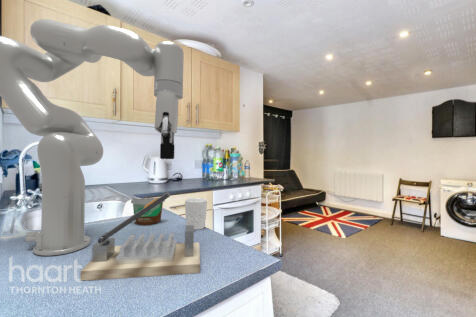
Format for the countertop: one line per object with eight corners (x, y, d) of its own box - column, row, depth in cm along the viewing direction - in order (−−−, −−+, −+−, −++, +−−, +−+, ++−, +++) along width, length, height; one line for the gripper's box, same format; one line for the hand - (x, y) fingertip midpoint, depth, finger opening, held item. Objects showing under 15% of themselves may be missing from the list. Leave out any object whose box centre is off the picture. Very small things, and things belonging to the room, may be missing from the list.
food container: (127, 227, 82) (128, 199, 82) (130, 222, 88) (131, 196, 88) (164, 225, 85) (164, 198, 85) (164, 220, 91) (165, 195, 91)
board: (80, 280, 47) (80, 271, 47) (105, 254, 60) (105, 246, 60) (199, 272, 51) (199, 263, 51) (199, 249, 64) (199, 242, 64)
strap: (99, 244, 52) (95, 239, 51) (106, 238, 56) (102, 233, 55) (169, 197, 54) (165, 192, 54) (171, 194, 58) (167, 189, 58)
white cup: (207, 224, 88) (208, 198, 88) (205, 230, 80) (205, 202, 80) (186, 223, 88) (187, 197, 88) (182, 230, 80) (183, 201, 80)
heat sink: (87, 266, 49) (88, 238, 49) (104, 249, 58) (104, 225, 58) (193, 260, 53) (193, 234, 53) (193, 245, 62) (194, 222, 62)
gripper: (159, 97, 70) (157, 158, 70) (147, 80, 54) (146, 159, 54) (184, 99, 71) (183, 158, 71) (180, 83, 55) (179, 159, 55)
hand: (167, 158), depth 63 cm, fingers open, 2 cm apart
